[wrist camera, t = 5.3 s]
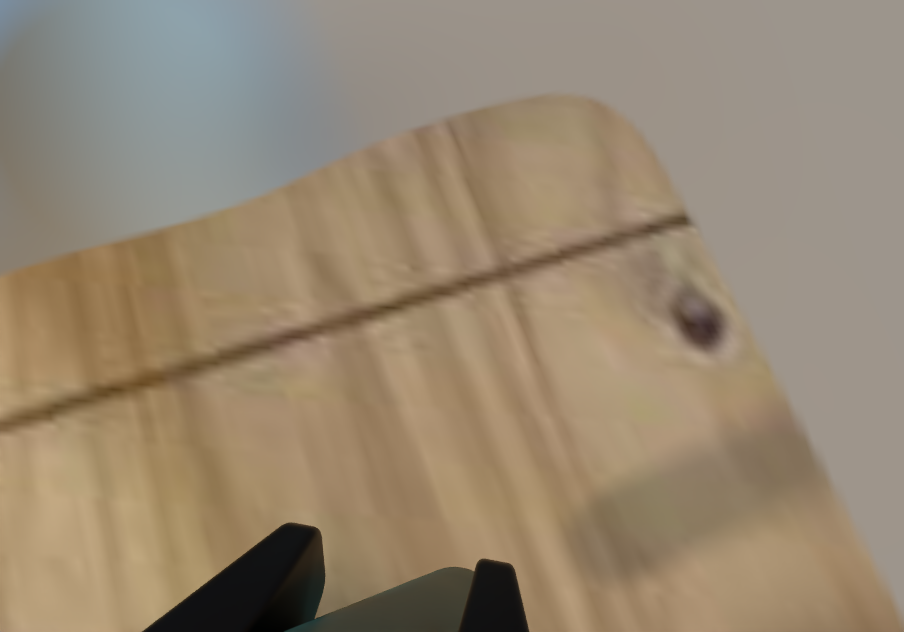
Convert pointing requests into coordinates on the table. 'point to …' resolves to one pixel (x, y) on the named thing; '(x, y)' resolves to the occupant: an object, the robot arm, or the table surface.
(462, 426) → the table surface
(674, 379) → the table surface
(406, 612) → the teal green rod
